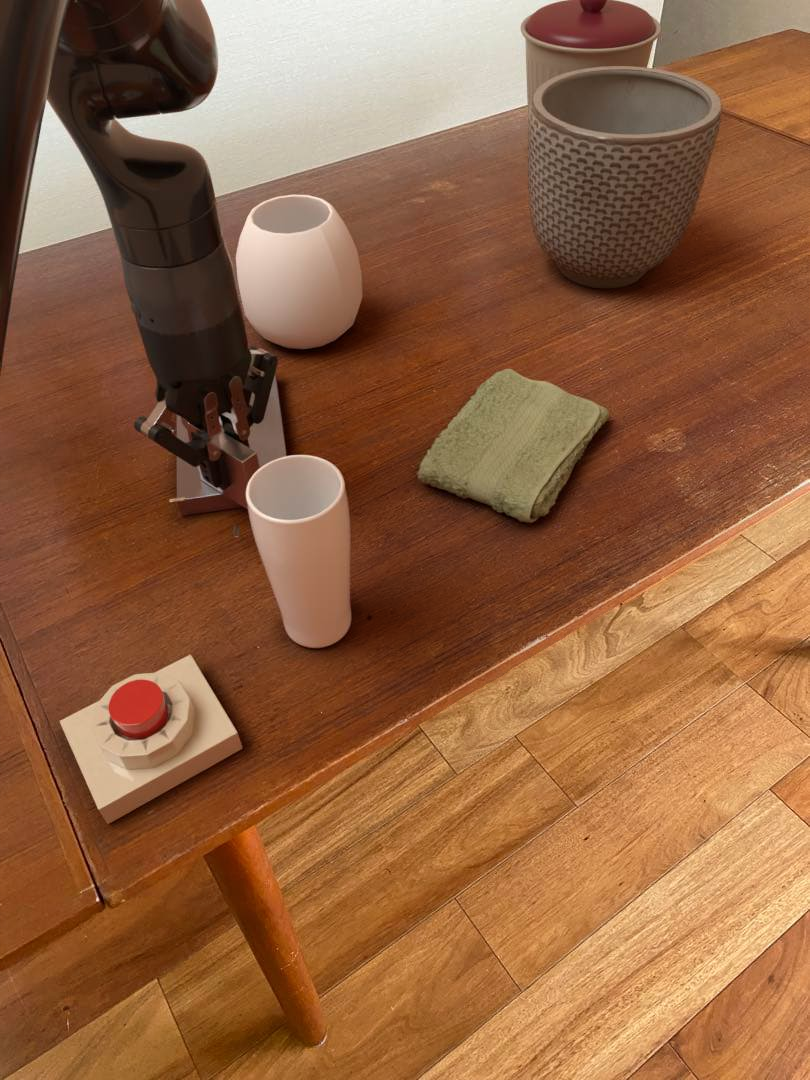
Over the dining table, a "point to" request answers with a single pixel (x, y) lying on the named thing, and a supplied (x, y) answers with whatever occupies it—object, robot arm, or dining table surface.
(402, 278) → the dining table surface
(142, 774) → the button block
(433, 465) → the washcloth
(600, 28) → the canister
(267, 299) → the cup
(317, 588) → the drinking glass
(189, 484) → the base
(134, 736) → the button
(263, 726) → the dining table surface
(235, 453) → the spout
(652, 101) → the planter
